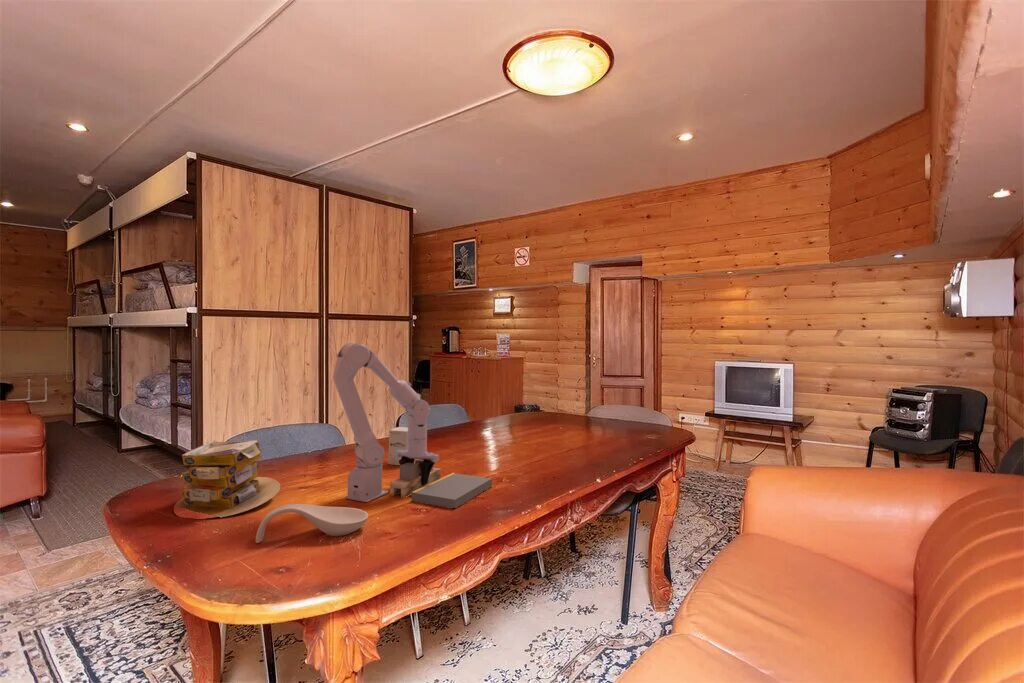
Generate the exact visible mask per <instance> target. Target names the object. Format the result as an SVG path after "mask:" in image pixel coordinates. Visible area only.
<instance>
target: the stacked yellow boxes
mask: <svg viewBox="0 0 1024 683" xmlns="http://www.w3.org/2000/svg"><path fill="white" fill-rule="evenodd" d="M181 458H182V463H183V466H188V469H186V470H183V471H182V472H181V473H180V474H181V479H182V483H183V484H187V485H185V486H184V487H182V490H183V492H182V493H181V495H182V498H181V499H179V500H178V501H177V502H176V503H175V504H174V506H173V508H174V507H177V508H178V507H180V508H186V509H188V510H189V511H190V510H191V511H194V512H199V513H200V512H201V513H204V514H205V513H206V514H208V515H213V516H219V517H220V518H223V517H224V518H225V517H229V516H233V515H237V514H240V513H244V512H247V511H249V510H252V509H254V508H257V507H259V506H260V505H263V504H264V503H267V502H268V501H270V500H271V499H272V498H274V497H275V496H276V495H277V494H278V493H279V491H280V489H281V484H280V482H279V481H278V480H276V479H274V478H271V477H267V476H264V477H263V476H258V468H259V464H257V461H259V460H260V459H262V449H261V447H260V442H259V441H258V440H247V441H208V443H205V444H201V446H197V447H196V448H193V449H189V451H187V452H185V453H183V454H181Z"/></svg>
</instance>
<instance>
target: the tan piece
mask: <svg viewBox="0 0 1024 683" xmlns="http://www.w3.org/2000/svg"><path fill="white" fill-rule="evenodd" d="M441 478H442V468H438V467H433V472H430V475H429V478H428V482H427V484H425V485H422V484H421V474H419V478H417V479H414V480H412V481H408V480H401V479H400V478H397V479H395V480H393V481H391V482H390V483H389V487H390V488H389V496H390V495H393V496H392V497H395V496H397V495H399V494H400V498H401V497H406V496H408V495H410V494H411V492H413V491H415V490H417V489H419V488H422V487H424V486H426V485H428V484H430V483H432V482H434V481H436V480H439V479H441ZM400 492H401V493H400ZM398 493H399V494H398ZM396 494H397V495H396ZM394 495H395V496H394ZM410 496H411V495H410ZM408 497H409V496H408ZM406 498H407V497H406Z"/></svg>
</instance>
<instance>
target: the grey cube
mask: <svg viewBox="0 0 1024 683" xmlns="http://www.w3.org/2000/svg"><path fill="white" fill-rule="evenodd" d="M417 478H419V464H415V462H414V463H406V464H403V465H399V479H401V480H408V481H412V480H414V479H417Z"/></svg>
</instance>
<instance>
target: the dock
mask: <svg viewBox="0 0 1024 683" xmlns="http://www.w3.org/2000/svg"><path fill="white" fill-rule="evenodd" d="M491 486H493V478H489V477H483V476H476V475H469V474H462V473H461V474H460V473H456V472H451V473H449V474H447V475H445V476H443V477H441V479H439V480H436V481H434V482H432V483H430V484H428V485H426V486H424V487H422V488H419V489H417V490H415V491H413V492H411V495H410V496H411V497H410V498H411V499H410V500H411V502H412V501H415V502H414V503H418V502H422V503H421V504H423V503H427V504H426V505H429V504H432V505H431V506H435V505H439V506H438V507H440V506H445V507H444V508H446V507H449V508H448V509H452V508H456V509H458V508H459V507H461V506H462V505H464V504H465V502H466V503H468V502H470V501H471V500H472V499H474V498H476V497H477V496H479V495H480V493H481V494H482V493H483V491H484V492H485V490H486V491H488V490H489V489H491V488H492V487H491ZM490 487H491V488H490ZM488 488H489V489H488ZM478 494H479V495H478ZM475 496H476V497H475ZM470 499H471V500H470ZM460 505H461V506H460ZM458 506H459V507H458Z"/></svg>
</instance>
